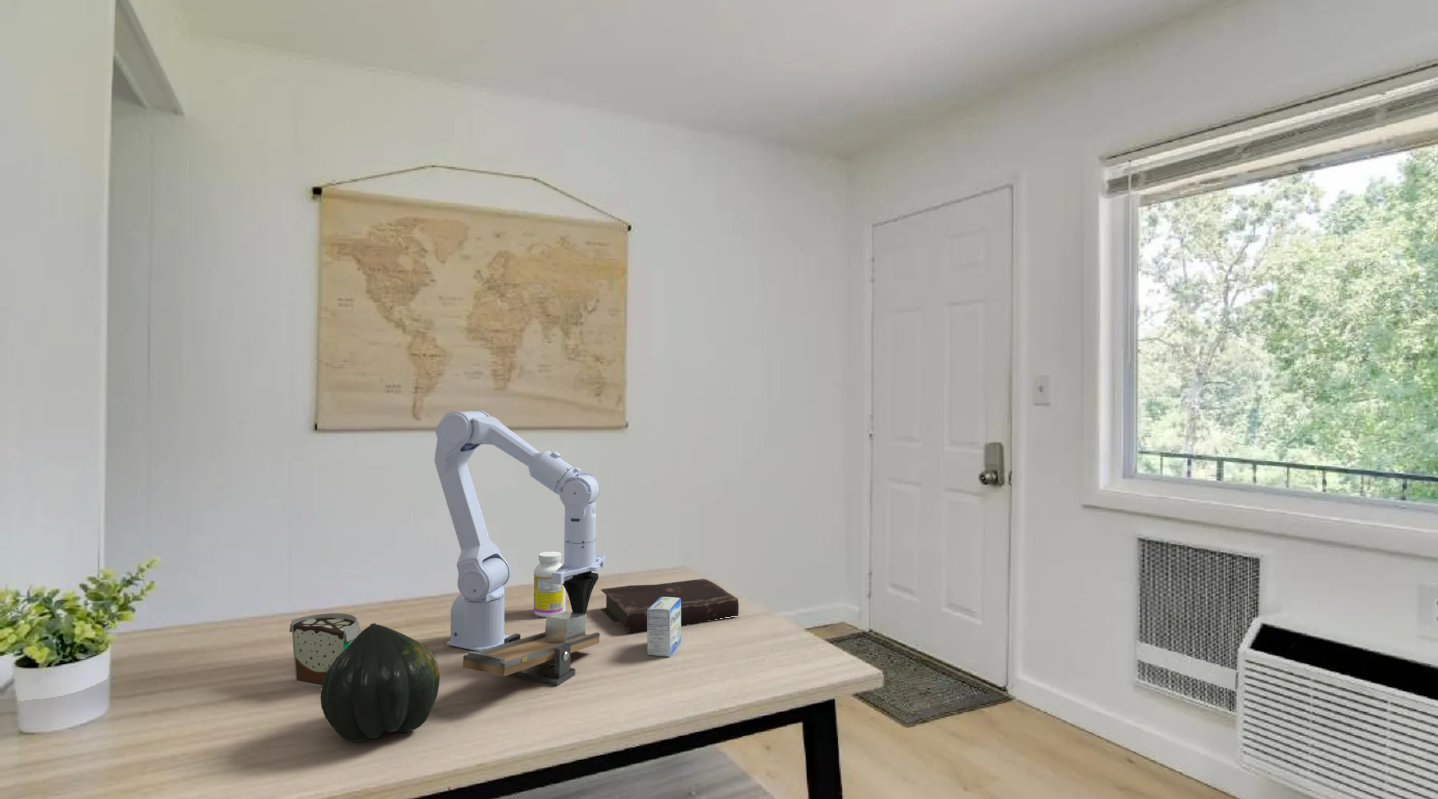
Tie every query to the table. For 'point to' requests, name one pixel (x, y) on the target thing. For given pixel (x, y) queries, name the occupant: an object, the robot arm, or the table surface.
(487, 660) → the beam
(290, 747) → the table surface
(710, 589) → the diary
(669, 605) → the medicine box
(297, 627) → the food container
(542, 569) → the supplement bottle
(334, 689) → the squash
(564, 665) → the stand
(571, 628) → the block
